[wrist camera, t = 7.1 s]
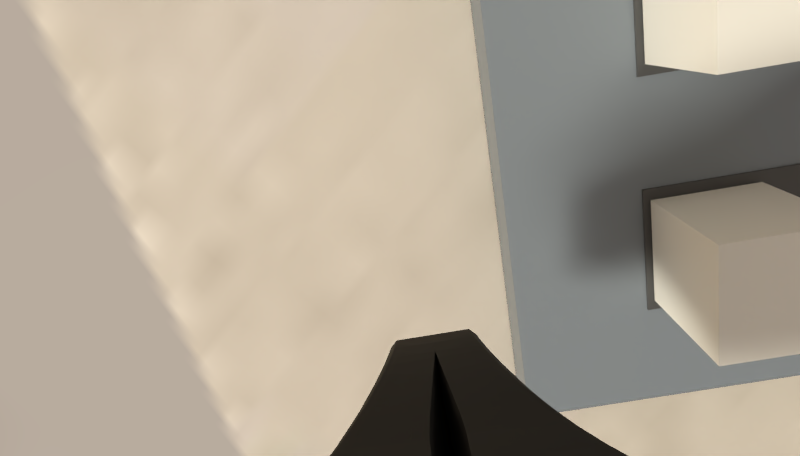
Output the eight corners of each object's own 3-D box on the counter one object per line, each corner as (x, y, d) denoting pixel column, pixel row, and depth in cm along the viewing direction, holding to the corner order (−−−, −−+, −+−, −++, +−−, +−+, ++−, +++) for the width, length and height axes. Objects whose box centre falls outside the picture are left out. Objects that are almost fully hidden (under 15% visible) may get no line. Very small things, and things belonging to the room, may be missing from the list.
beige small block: (760, 283, 15) (850, 346, 12) (654, 300, 15) (719, 366, 12) (762, 181, 14) (858, 222, 11) (650, 199, 14) (718, 244, 11)
